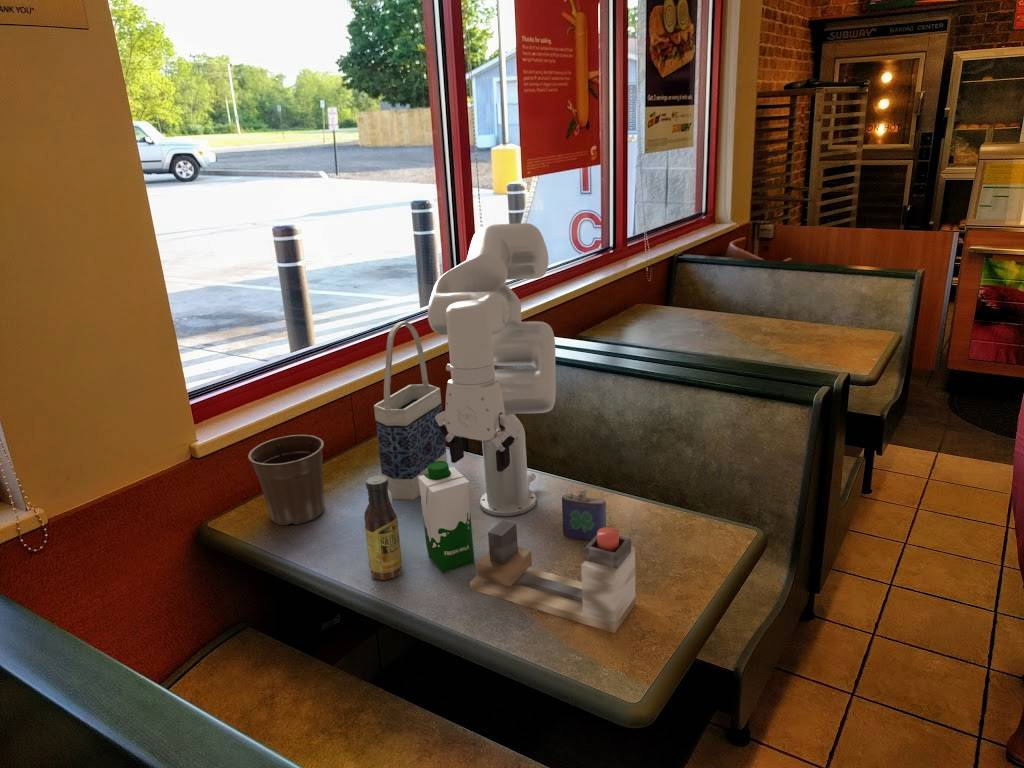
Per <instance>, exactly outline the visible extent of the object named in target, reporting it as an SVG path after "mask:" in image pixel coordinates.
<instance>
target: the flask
mask: <svg viewBox="0 0 1024 768" xmlns="http://www.w3.org/2000/svg"><path fill="white" fill-rule="evenodd" d="M587 494H588V490H585V489H583V490H581V491H579V494H578V495H576V494H573V493H566V494H565V493H564V495H562V497H561V513H562V515H561V516H562V535H563V537H565V538H566V539H570V540H575V541H580V542H581V541H582V542H583V541H584V542H588V543H590V541H591V540H592V539H593V538H594V537H595V536H596V535H597V531H598V530H599V529H601V528H604V527H607V513H606V512H607V510H606V507H607V502H606V500H605V499H604V498H602V497H600V498H599V497H587Z"/></svg>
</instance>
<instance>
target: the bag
mask: <svg viewBox="0 0 1024 768" xmlns="http://www.w3.org/2000/svg"><path fill="white" fill-rule="evenodd" d="M403 326H405V327H406V328H408V330H409V331H410V333H411V335H412V337H413V339H414V340H413V341H414V343H415V346H416V350H417V355H418V361H419V366H420V373H421V381H422V383H421V384H420V383H419V384H407V386H405V387H403V388H401V389H399V390H397V392H395V393H393V394H391V378H392V369H393V368H392V367H393V351H394V350H393V347H394V338H395V336H396V333H397V332H398V331H399V330H400V329H401V328H402V327H403ZM386 339H387V340H386V355H385V368H384V378H383V379H384V380H383V381H384V382H383V399H382V400H381V401H378V402H377V403H376V404H374V405H373V411H374V420H375V426H376V427H375V428H376V436H377V444H378V454H379V462H380V464H379V465H380V470H381V472H380V473H381V476H385V477H386V478H387V480H388V487H387V489H388V490H389V491H390V493H391V494H392V499H395V500H415V499H417V498H418V497H419V496H421V495H420V488H419V481H418V476H422V475H424V474H428V465H429V464H430V463H432V462H435V461H445V462H447V463H448V457H447V456H448V455H447V447H446V445H447V444H446V436H445V435H444V434H443V433H442V432H441V431H440V426H439V425H438V423H437V421H436V419H435V416H436V415H437V414H439V413H441V412H443V406H442V395H441V388H440V387H438V386H435V385H432V384H430V383H429V380H428V379H429V378H428V374H427V373H428V371H427V365H426V360H425V355H424V350H423V349H424V348H423V345H422V341H421V339H420V336H419V334H418V331H417V329H416V328H415V326H414V325H412V324H411V323H410V322H408V321H403V320H402V321H399V322H396V323H395V324H394V325H393V326H392V328H391V329H390V330H389V333H388V335H387V338H386Z"/></svg>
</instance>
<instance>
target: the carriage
mask: <svg viewBox="0 0 1024 768" xmlns="http://www.w3.org/2000/svg"><path fill="white" fill-rule="evenodd" d="M517 529H518V528H517V523H516V522H512V521H509V520H505V519H501V520H499V522H498V523H497V524H496V525H494V526H493V527H492V528H491V529H490V530H489V531H488V532H487V538H488V539H487V541H488V551H487V552H486V553H485V554H484V555H483V556H482V557H481V558H479V560H478V561H477V562H476V570H477V571H476V573H477V575H478V577H481V578H484V579H487V580H491V581H494V582H497V583H501V584H504V585H508V586H511V585H512V584H513V583H514V582H515V581H516V580H517V579H518V578H519V577H520V576H521V575H522V574H523V573H524V572H525V571H526V570H527V569H528V568H529V567H530V568H531V566H532V565H533V557H532V555H533V554H532V550H531V549H528V548H525V547H521V546H519V545H518V531H517Z"/></svg>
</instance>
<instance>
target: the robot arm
mask: <svg viewBox="0 0 1024 768" xmlns="http://www.w3.org/2000/svg"><path fill="white" fill-rule="evenodd" d="M548 267H549V251H548V248H547V245H546V242H545V239H544V236H543V234H542V232H541V231H540V230H539V228H538V227H537V226H536V225H534V224H532V223H527V222H525V223H523V222H522V223H521V222H520V223H500V224H489V225H485V226H482V227H480V228H479V229H477V231H475V233H474V234H473V237H472V239H471V242H470V245H469V249H468V254H467V257H466V260H464V261H463V262H461V263H459V264H458V265H456V266H455V267H453V268H451V269H450V270H448V271H446V272H445V273H443V274H442V275H441V276H440V277H439V278H438V279H437V281H436V282H435V284H434V286H433V288H432V291H431V295H430V298H429V301H428V307H427V321H428V324H429V326H430V328H431V330H432V331H433V332H434V333H435V334H438V335H441V336H442V335H443V336H447V341H448V352H449V362H450V363H447V364H446V366H445V370H446V372H449V373H450V377H451V379H448V381H447V385H446V393H445V410H444V411H443V410H442V412H441V413H439V414H437V415H436V416H435V419H436V421H437V423H438V425H439V426H440V431H441V432H442V433H443V434H444V435H445V442H448V444H449V445H448V446H449V455H450V463H452V464H455V463H457V462H459V461H460V460H461V459H463V458H464V457H465V455H464V451H465V450H464V442H463V439H464V438H465V439H469V440H470V439H471V440H476V441H480V442H481V444H482V445H481V446H482V447H481V448H482V456H483V468H484V471H483V472H484V482H485V493H483V494H482V496H481V497H480V500H479V506H480V508H481V509H482V510H483V512H485V513H487V514H488V515H492V516H498V517H512V516H518V515H522V514H525V513H526V512H527V513H528V512H529V511H530V510H531V509H533V508H534V507H535V506H536V501H537V498H536V495H535V493H534V492H533V491H532V490H531V489H530V485H531V484H532V482H533V481H535V480H536V478H537V476H536V474H535V473H534V472H529V473H528V465H527V461H528V460H527V447H526V432H525V428H524V426H523V424H522V422H521V421H520V420H519V418H518V417H517V414H518V415H519V414H542V413H543V414H545V413H548V412H551V411H552V410H553V409H554V407H555V404H556V397H557V396H556V394H557V391H556V390H557V389H556V388H557V386H556V385H557V384H556V383H557V382H556V381H557V380H556V379H557V378H556V371H557V370H556V342H555V341H556V340H555V335H554V331H553V328H552V327H551V325H549V324H548V323H546V322H544V321H538V320H537V321H536V320H533V321H522V302H521V300H520V299H519V298H520V297H518V296H517V294H516V293H515V291H514V290H512V289H511V287H509V286H508V285H507V284H506V282H507V281H509V280H532V279H535V280H536V279H540V278H543V277H544V276H545V274H546V273H547V271H548ZM495 366H501V367H502V366H506V367H507V366H508V367H509V366H532V367H534V368H499V369H498V368H497V369H496V368H495Z"/></svg>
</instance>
